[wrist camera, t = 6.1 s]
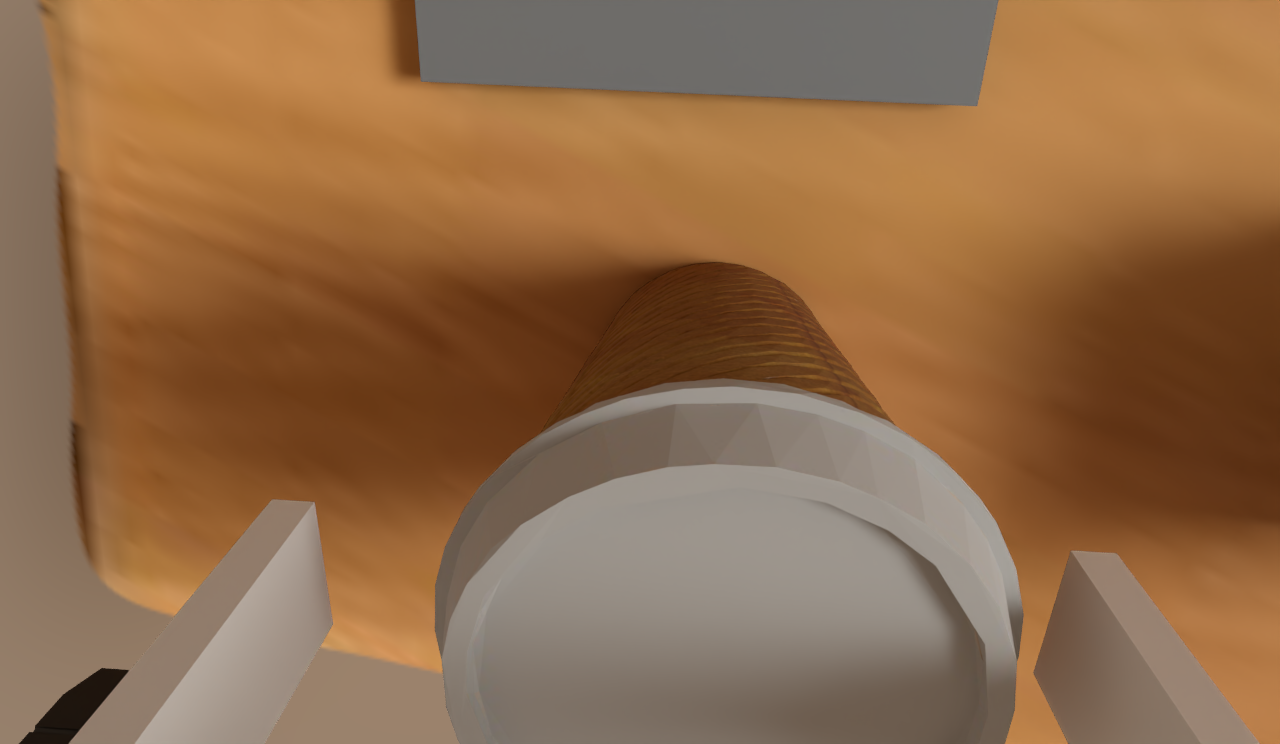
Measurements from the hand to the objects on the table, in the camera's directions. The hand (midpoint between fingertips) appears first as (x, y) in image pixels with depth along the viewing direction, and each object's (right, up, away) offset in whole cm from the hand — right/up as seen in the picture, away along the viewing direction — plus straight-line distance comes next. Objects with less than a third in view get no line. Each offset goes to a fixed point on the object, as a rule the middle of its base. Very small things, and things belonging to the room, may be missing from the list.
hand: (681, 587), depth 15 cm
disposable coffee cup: (+1, +4, +9) cm, 10 cm away
